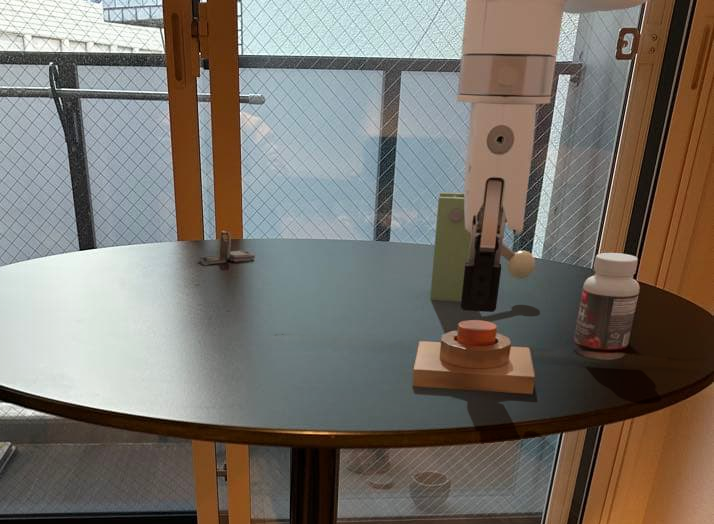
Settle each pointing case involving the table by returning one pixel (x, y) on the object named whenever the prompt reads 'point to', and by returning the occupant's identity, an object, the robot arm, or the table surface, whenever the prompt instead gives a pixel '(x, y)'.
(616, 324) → the pill bottle
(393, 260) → the table surface
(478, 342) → the button
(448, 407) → the table surface
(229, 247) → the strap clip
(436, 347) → the button block
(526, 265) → the lever
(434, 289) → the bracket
